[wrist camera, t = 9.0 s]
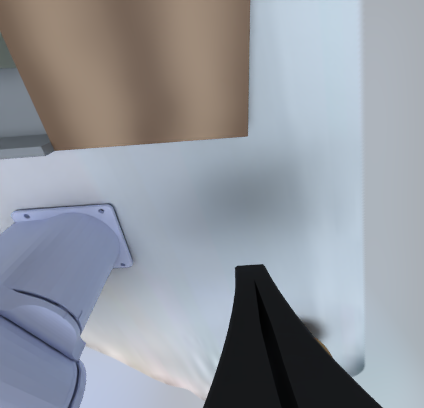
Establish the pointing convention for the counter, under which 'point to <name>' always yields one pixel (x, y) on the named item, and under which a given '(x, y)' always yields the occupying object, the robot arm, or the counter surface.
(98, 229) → the robot arm
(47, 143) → the box
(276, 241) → the counter surface
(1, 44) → the tile
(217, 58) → the plate
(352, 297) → the counter surface
